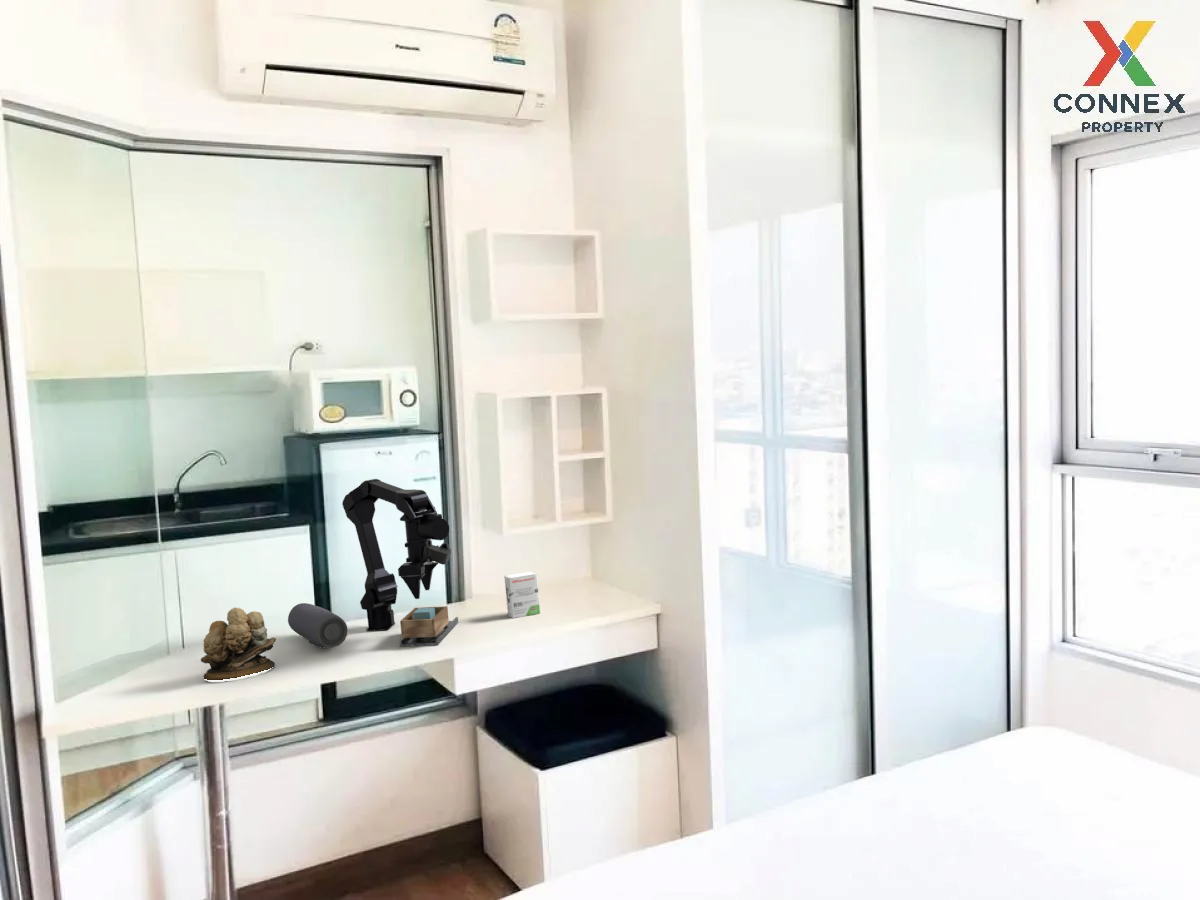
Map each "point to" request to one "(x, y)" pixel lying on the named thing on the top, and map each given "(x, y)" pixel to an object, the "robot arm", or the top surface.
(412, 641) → the track
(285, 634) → the top surface
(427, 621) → the wooden drawer
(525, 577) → the ink box
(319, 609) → the bluetooth speaker
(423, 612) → the part block
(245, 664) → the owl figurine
